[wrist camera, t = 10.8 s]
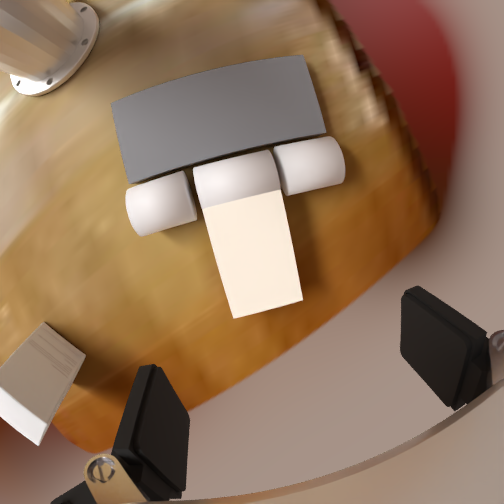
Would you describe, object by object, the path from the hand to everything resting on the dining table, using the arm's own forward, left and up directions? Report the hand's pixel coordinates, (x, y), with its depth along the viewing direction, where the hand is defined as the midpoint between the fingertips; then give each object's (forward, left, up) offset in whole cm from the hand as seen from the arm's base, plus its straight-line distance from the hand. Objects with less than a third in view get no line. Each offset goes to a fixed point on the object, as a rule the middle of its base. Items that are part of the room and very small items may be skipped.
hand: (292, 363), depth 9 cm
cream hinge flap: (-1, 0, -18) cm, 18 cm away
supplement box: (+7, -28, -19) cm, 34 cm away
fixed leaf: (-11, 0, -18) cm, 21 cm away
